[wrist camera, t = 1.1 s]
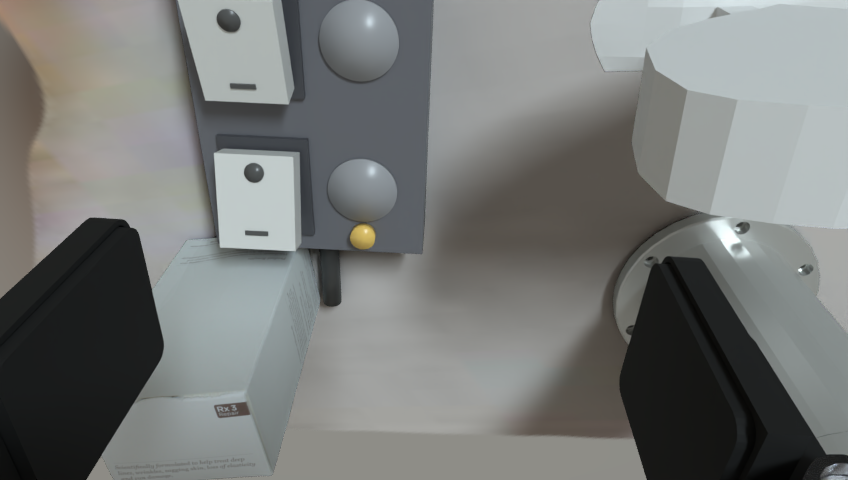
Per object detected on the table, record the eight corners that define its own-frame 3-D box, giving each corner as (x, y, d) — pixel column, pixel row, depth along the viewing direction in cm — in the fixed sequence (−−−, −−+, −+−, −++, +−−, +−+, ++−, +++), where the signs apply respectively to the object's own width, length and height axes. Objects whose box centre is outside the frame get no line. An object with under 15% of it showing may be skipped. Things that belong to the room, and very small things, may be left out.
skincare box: (211, 305, 42) (109, 492, 30) (184, 232, 39) (57, 406, 27) (328, 298, 42) (274, 487, 29) (310, 223, 38) (241, 398, 26)
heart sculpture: (567, 72, 33) (667, 253, 18) (576, -28, 30) (704, 82, 15) (863, 65, 32) (1240, 249, 17) (899, -39, 29) (1386, 67, 14)
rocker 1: (294, 88, 30) (288, 105, 29) (213, 84, 30) (204, 101, 29) (279, -13, 26) (271, 2, 25) (187, -17, 26) (176, -2, 25)
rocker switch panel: (421, 299, 41) (418, 339, 38) (247, 290, 42) (228, 329, 38) (444, -267, 25) (443, -288, 22) (162, -278, 26) (116, -300, 22)
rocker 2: (301, 242, 33) (295, 251, 32) (229, 239, 33) (219, 247, 32) (299, 152, 32) (292, 157, 30) (223, 148, 32) (213, 153, 30)
